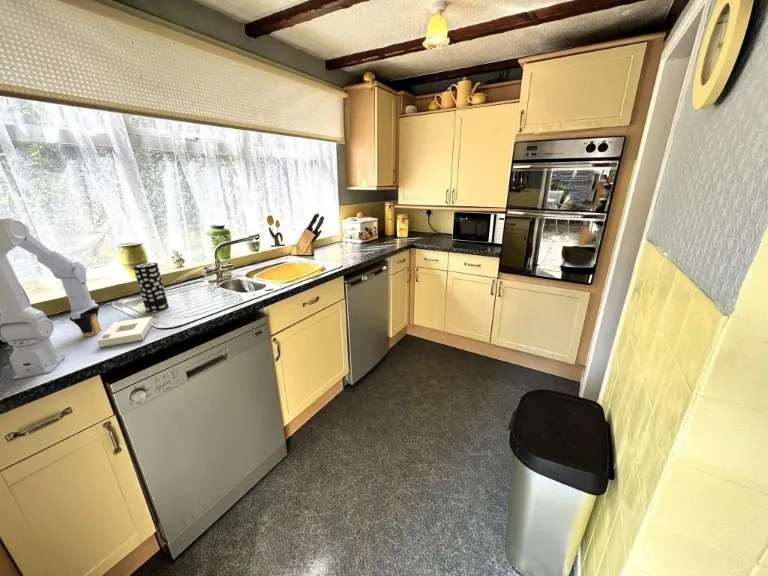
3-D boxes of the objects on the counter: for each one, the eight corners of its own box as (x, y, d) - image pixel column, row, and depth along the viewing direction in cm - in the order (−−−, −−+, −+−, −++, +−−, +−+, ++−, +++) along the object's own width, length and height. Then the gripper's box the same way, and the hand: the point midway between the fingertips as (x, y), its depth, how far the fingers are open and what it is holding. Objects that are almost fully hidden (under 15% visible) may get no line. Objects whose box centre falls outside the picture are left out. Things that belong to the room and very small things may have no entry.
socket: (143, 341, 108) (140, 332, 107) (100, 348, 103) (96, 339, 102) (153, 323, 122) (151, 315, 121) (115, 329, 117) (113, 321, 116)
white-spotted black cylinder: (143, 313, 131) (130, 268, 125) (149, 306, 139) (136, 264, 132) (166, 310, 134) (154, 266, 128) (170, 304, 142) (159, 261, 135)
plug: (97, 334, 113) (91, 317, 111) (83, 336, 112) (76, 319, 109) (101, 330, 117) (95, 313, 115) (87, 332, 115) (81, 315, 113)
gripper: (84, 299, 105) (97, 335, 109) (100, 287, 117) (111, 320, 122) (57, 303, 102) (71, 339, 106) (76, 290, 114) (88, 323, 119)
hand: (91, 329), depth 114 cm, fingers open, 5 cm apart
